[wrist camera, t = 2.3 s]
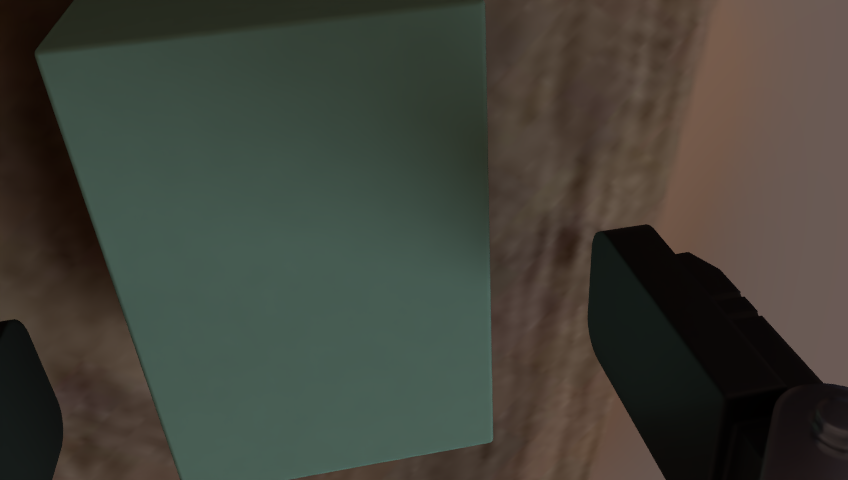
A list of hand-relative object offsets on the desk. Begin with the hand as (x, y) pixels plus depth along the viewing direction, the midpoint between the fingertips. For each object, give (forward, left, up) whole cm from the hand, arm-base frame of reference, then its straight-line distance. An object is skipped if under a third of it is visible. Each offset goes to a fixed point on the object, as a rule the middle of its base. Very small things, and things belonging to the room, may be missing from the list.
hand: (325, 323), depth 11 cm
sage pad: (0, 0, -5) cm, 5 cm away
